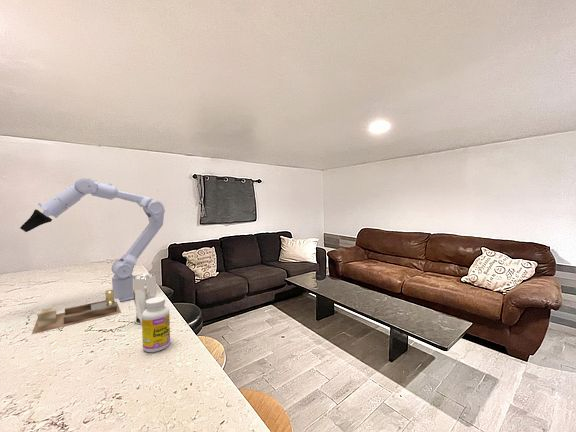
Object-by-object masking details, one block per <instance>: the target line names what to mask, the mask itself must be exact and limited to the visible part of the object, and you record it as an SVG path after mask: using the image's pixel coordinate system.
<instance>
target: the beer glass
mask: <svg viewBox="0 0 576 432" xmlns="http://www.w3.org/2000/svg"><path fill="white" fill-rule="evenodd" d="M137 275H138V276H135V275H134V276H135V277H133V298H134V299H133V301H134V305H135V308H136V310H135V311H136V316H135V324H137V325H141V326H142V313H143V312H144V311H145V310H146V309H147V307H146V300H148V299H150V298H154V297H157V290H158V289H157V279H156V274H155V273H143V274H137Z"/></svg>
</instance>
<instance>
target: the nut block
mask: <svg viewBox="0 0 576 432" xmlns="http://www.w3.org/2000/svg"><path fill="white" fill-rule="evenodd" d="M57 314H58V313H57V307H56V306H55V307H50V308H45V309H41V310H40V309H39V310H38V312H37V319H38V327H41V326H45V325H50V324H54V323H56V320H57Z"/></svg>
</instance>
